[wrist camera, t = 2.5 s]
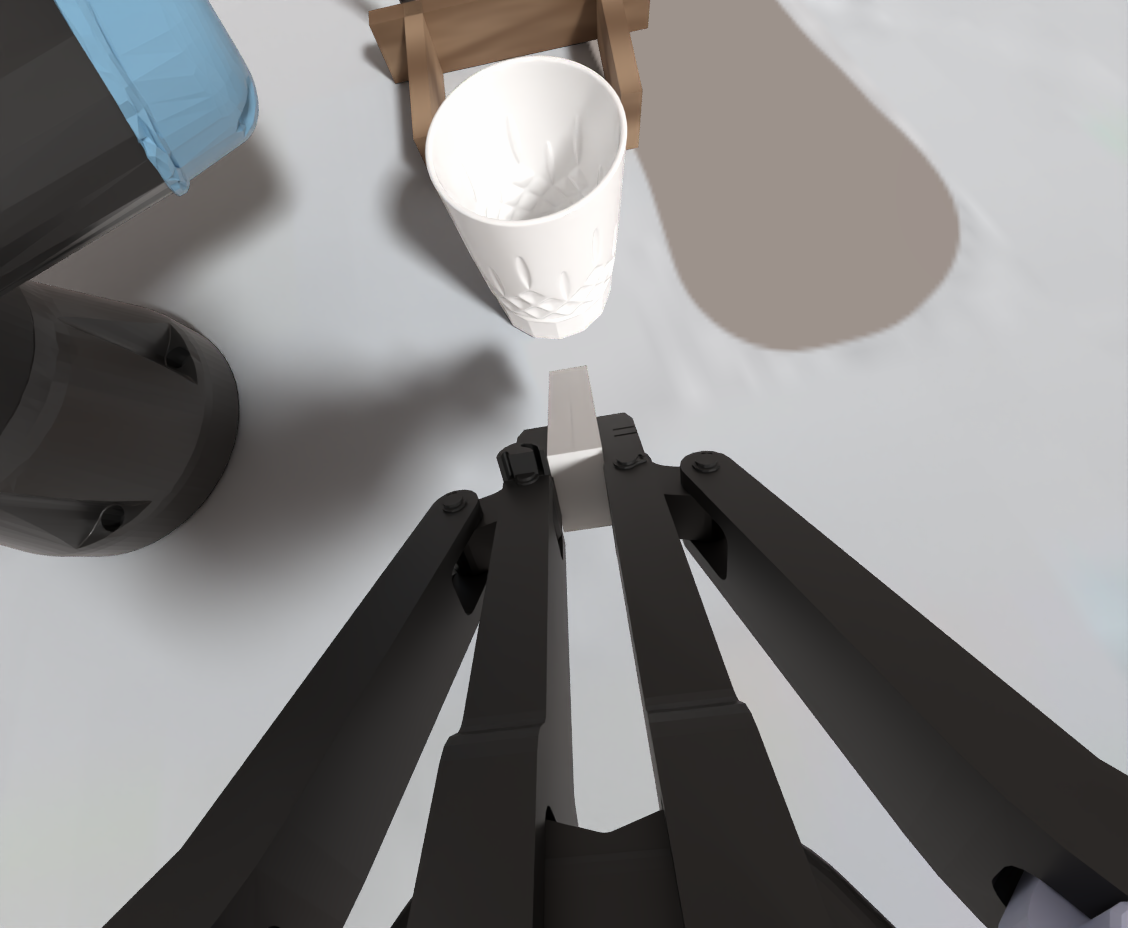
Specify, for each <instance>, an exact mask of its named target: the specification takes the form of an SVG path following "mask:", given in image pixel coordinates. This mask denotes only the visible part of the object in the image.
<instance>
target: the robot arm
mask: <svg viewBox="0 0 1128 928" xmlns="http://www.w3.org/2000/svg"><path fill="white" fill-rule="evenodd" d="M258 112H259V106H258V96H257V91H256V87H255V84H254V81H253V78H252V75H251V73H250V71H249V69H248V67H247V65H246V63H245V62H244V60H243V58H242V56H241V55H240V53H239V51H238V49H237V48H236V46H235V44H234V43H233V41H232V39H231V38H230V36H229V34H228V33H227V31H226V29H225V28H224V26H223V24H222V22H221V21H220V19H219V17H218V16H217V14H216V12H215V11H214V9H213V7H212V6H211V4H210V2H209V1H208V0H0V545H3V546H7V547H10V548H14V549H17V550H21V551H25V552H29V553H33V554H39V555H47V556H60V557H101V556H113V555H119V554H124V553H128V552H131V551H135V550H137V549H140V548H143V547H145V546H147V545H149V544H152V543H154V542H155V541H157V540H159V539H161V538H163V537H164V536H166V535H167V534H169V533H170V532H172V531H173V530H174V529H176V528H177V527H178V526H180V525H181V524H182V523H183V522H184V521H186V520H187V519H188V518H189V517H190V516H191V515H192V514H193V513H194V512H195V511H196V510H197V509H198V508H199V507H200V505H201V504H202V503H203V502H204V501H205V499H206V498H207V497H208V495H209V494H210V493H211V491H212V490H213V488H214V487H215V485H216V484H217V482H218V480H219V478H220V477H221V475H222V473H223V471H224V469H225V467H226V465H227V462H228V460H229V457H230V455H231V452H232V449H233V445H234V442H235V438H236V432H237V426H238V415H239V405H238V394H237V389H236V384H235V381H234V377H233V375H232V372H231V370H230V368H229V365H228V363H227V362H226V360H225V358H224V357H223V355H222V354H221V353H220V351H219V350H218V349H217V348H216V347H215V346H214V345H213V344H212V343H211V342H210V341H209V340H207V339H206V338H205V337H204V336H202V335H200V334H199V333H197V332H195V331H194V330H192V329H190V328H188V327H186V326H184V325H182V324H181V323H179V322H177V321H175V320H173V319H171V318H169V317H167V316H165V315H163V314H161V313H158V312H156V311H153V310H150V309H147V308H144V307H140V306H136V305H132V304H128V303H123V302H119V301H115V300H110V299H106V298H102V297H97V296H93V295H89V294H85V293H80V292H76V291H72V290H67V289H63V288H59V287H54V286H50V285H46V284H42V283H37V282H33V281H29V280H30V279H31V278H33V277H35V276H36V275H38V274H40V273H41V272H43V271H45V270H46V269H48V268H50V267H51V266H53V265H55V264H56V263H58V262H60V261H61V260H63V259H65V258H66V257H68V256H69V255H71V254H73V253H74V252H76V251H78V250H79V249H81V248H83V247H84V246H86V245H88V244H89V243H91V242H93V241H94V240H96V239H98V238H99V237H101V236H103V235H104V234H106V233H108V232H109V231H111V230H113V229H114V228H116V227H118V226H119V225H121V224H122V223H124V222H126V221H127V220H129V219H131V218H132V217H134V216H136V215H137V214H139V213H141V212H142V211H144V210H146V209H147V208H149V207H151V206H152V205H154V204H156V203H157V202H159V201H161V200H162V199H164V198H166V197H167V196H169V195H171V194H172V193H174V194H176V195H178V196H181V195H183V194H185V193H187V192H188V189H189V187H190V180H192V179H193V178H194V177H196V176H197V175H199V174H200V173H201V172H203V171H204V170H206V169H207V168H208V167H210V166H211V165H213V164H214V163H215V162H217V161H218V160H220V159H221V158H222V157H224V156H225V155H227V154H228V153H230V152H231V151H232V150H234V149H235V148H237V147H238V146H239V145H241V144H242V143H244V142H245V141H246V140H247V139H248V138H249V137H250V136H251V134H252V133H253V131H254V129H255V127H256V124H257V120H258ZM496 458H497V461H498V464H499V468H500V471H501V474H502V478H503V481H504V483H503V489H502V490H500V491H498V492H497V493H494V494H492V495H490V496H487V497H484V498H481V499H478V497H477V494H476V493H474V492H473V491H470V490H458V491H453V492H450V493H447V494H446V495H444V496H442V497H441V498H439V499H438V500H437V501H436V502H435V503H434V504H433V505H432V506H431V508H430V509H429V510H428V512H427V513H426V515H425V516H424V517H423V519H422V520H421V521H420V523H419V524H418V525H417V527H416V528H415V530H414V531H413V532H412V534H411V535H410V536H409V538H408V539H407V540H406V542H405V543H404V545H403V546H402V547H401V549H400V550H399V551H398V553H397V554H396V556H395V557H394V558H393V560H392V561H391V562H390V564H389V565H388V566H387V568H386V569H385V571H384V572H383V573H382V575H381V576H380V577H379V579H378V580H377V581H376V583H375V584H374V586H373V587H372V588H371V590H370V591H369V592H368V594H367V595H366V597H365V598H364V599H363V601H362V602H361V603H360V605H359V606H358V607H357V609H356V610H355V612H354V613H353V614H352V616H351V617H350V618H349V620H348V621H347V622H346V624H345V625H344V627H343V628H342V629H341V631H340V632H339V633H338V635H337V636H336V638H335V639H334V640H333V642H332V643H331V644H330V646H329V647H328V648H327V650H326V651H325V653H324V654H323V655H322V657H321V658H320V659H319V661H318V662H317V663H316V665H315V666H314V668H313V669H312V670H311V672H310V673H309V674H308V676H307V677H306V678H305V680H304V681H303V683H302V684H301V685H300V687H299V688H298V689H297V691H296V692H295V694H294V695H293V696H292V698H291V699H290V700H289V702H288V703H287V704H286V706H285V707H284V709H283V710H282V711H281V713H280V714H279V715H278V717H277V718H276V719H275V721H274V722H273V724H272V725H271V726H270V728H269V729H268V730H267V732H266V733H265V735H264V736H263V737H262V739H261V740H260V741H259V743H258V744H257V745H256V747H255V748H254V750H253V751H252V752H251V754H250V755H249V756H248V758H247V759H246V760H245V762H244V763H243V765H242V766H241V767H240V769H239V770H238V771H237V773H236V774H235V776H234V777H233V778H232V780H231V781H230V782H229V784H228V785H227V786H226V788H225V789H224V791H223V792H222V793H221V795H220V796H219V797H218V799H217V800H216V801H215V803H214V804H213V806H212V807H211V808H210V810H209V811H208V812H207V814H206V815H205V817H204V818H203V819H202V821H201V822H200V823H199V825H198V826H197V827H196V829H195V830H194V832H193V833H192V834H191V836H190V837H189V838H188V840H187V841H186V842H185V844H184V845H183V847H182V848H181V849H180V850H179V851H178V852H177V853H176V854H175V855H174V856H173V857H172V858H171V859H170V860H169V861H168V862H167V863H166V864H165V865H164V866H163V867H162V868H161V869H160V870H159V871H158V872H157V873H156V874H155V875H154V876H153V877H152V878H151V879H150V880H149V881H148V882H147V883H146V884H145V885H144V886H143V887H142V888H141V889H140V890H139V891H138V892H137V893H136V894H135V895H134V896H133V897H132V898H131V899H130V900H129V901H128V902H127V903H126V904H125V905H124V906H123V907H122V908H121V909H120V910H119V911H118V912H117V913H116V914H115V915H114V916H113V917H112V918H111V919H110V920H109V921H108V922H107V923H106V924H105V925H104V926H103V927H102V928H343V926H344V924H345V922H346V920H347V918H348V916H349V914H350V912H351V910H352V908H353V906H354V904H355V901H356V899H357V897H358V895H359V893H360V891H361V889H362V887H363V885H364V883H365V880H366V878H367V876H368V874H369V871H370V869H371V867H372V865H373V862H374V860H375V858H376V855H377V853H378V851H379V849H380V846H381V844H382V842H383V840H384V837H385V835H386V833H387V830H388V828H389V826H390V824H391V821H392V819H393V817H394V815H395V812H396V810H397V808H398V805H399V803H400V801H401V799H402V796H403V794H404V792H405V790H406V787H407V785H408V783H409V780H410V778H411V776H412V774H413V771H414V769H415V767H416V765H417V762H418V760H419V758H420V755H421V753H422V751H423V749H424V746H425V744H426V742H427V740H428V737H429V735H430V733H431V730H432V728H433V726H434V724H435V721H436V719H437V717H438V715H439V712H440V710H441V708H442V705H443V703H444V701H445V699H446V696H447V694H448V692H449V690H450V687H451V685H452V683H453V680H454V678H455V676H456V674H457V671H458V669H459V667H460V665H461V662H462V660H463V658H464V655H465V653H466V651H467V649H468V646H469V644H470V642H471V640H472V637H473V635H474V633H475V630H476V628H477V626H478V624H479V628H478V634H477V640H476V646H475V652H474V658H473V663H472V669H471V675H470V681H469V687H468V693H467V698H466V704H465V710H464V716H463V721H462V725H461V728H460V730H459V732H458V733H456V734H454V735H452V736H450V737H449V738H448V740H447V742H446V744H445V746H444V748H443V752H442V756H441V759H440V763H439V768H438V773H437V778H436V783H435V788H434V793H433V798H432V803H431V808H430V813H429V818H428V823H427V828H426V833H425V838H424V843H423V848H422V853H421V858H420V863H419V868H418V873H417V878H416V883H415V888H414V893H413V897H412V898H411V899H410V901H409V902H408V903H407V905H406V906H405V908H404V909H403V910H402V912H401V913H400V915H399V916H398V918H397V919H396V920H395V922H394V923H393V925H392V926H391V928H896V927H895V926H894V925H893V924H891V923H890V922H889V921H888V920H887V919H886V918H885V917H884V916H883V915H882V914H881V913H880V912H879V911H878V910H877V909H876V908H875V907H874V906H873V905H872V904H871V903H870V902H869V901H868V900H867V899H866V898H865V897H864V896H863V895H862V894H861V893H860V892H858V891H857V890H856V889H855V888H854V887H853V886H852V885H851V884H850V883H849V882H848V881H847V880H846V879H845V878H844V877H843V876H842V875H841V874H840V873H839V872H838V871H836V870H835V869H834V868H833V867H832V866H831V865H830V864H829V863H827V862H826V861H825V860H824V859H822V858H821V857H820V856H819V855H817V854H816V853H815V852H813V851H812V850H811V849H809V848H808V847H806V846H805V845H803V844H802V843H801V842H800V839H799V837H798V834H797V831H796V829H795V826H794V823H793V821H792V818H791V816H790V813H789V810H788V808H787V805H786V802H785V800H784V797H783V794H782V792H781V789H780V786H779V784H778V781H777V778H776V776H775V773H774V770H773V768H772V765H771V762H770V760H769V757H768V755H767V752H766V749H765V747H764V744H763V741H762V739H761V736H760V733H759V731H758V728H757V726H756V723H755V721H754V719H753V716H752V714H751V712H750V710H749V709H748V707H747V706H746V704H745V703H743V702H741V701H739V700H738V698H737V697H736V694H735V692H734V690H733V687H732V684H731V681H730V679H729V676H728V673H727V670H726V667H725V665H724V662H723V659H722V656H721V653H720V651H719V648H718V645H717V642H716V640H715V637H714V634H713V631H712V628H711V626H710V623H709V620H708V617H707V614H706V612H705V609H704V606H703V603H702V600H701V598H700V595H699V592H698V589H697V586H696V584H695V581H694V578H693V575H692V572H691V570H690V567H689V564H688V561H687V558H686V556H685V553H684V550H683V547H682V545H681V542H680V539H683V542H684V545H685V547H686V548H687V549H688V551H689V552H690V553H691V555H692V556H693V557H694V559H695V560H696V561H697V563H698V564H699V565H700V566H701V568H702V569H703V570H704V572H705V573H706V574H707V576H708V577H709V578H710V580H711V581H712V582H713V584H714V585H715V586H716V587H717V589H718V590H719V591H720V593H721V594H722V595H723V597H724V598H725V599H726V601H727V602H728V603H729V605H730V606H731V607H732V609H733V610H734V611H735V612H736V614H737V615H738V616H739V618H740V619H741V620H742V622H743V623H744V624H745V626H746V627H747V628H748V630H749V631H750V632H751V633H752V635H753V636H754V637H755V639H756V640H757V641H758V643H759V644H760V645H761V647H762V648H763V649H764V651H765V652H766V653H767V654H768V656H769V657H770V658H771V660H772V661H773V662H774V664H775V665H776V666H777V668H778V669H779V670H780V672H781V673H782V674H783V676H784V677H785V678H786V679H787V681H788V682H789V683H790V685H791V686H792V687H793V689H794V690H795V691H796V693H797V694H798V695H799V697H800V698H801V699H802V700H803V702H804V703H805V704H806V706H807V707H808V708H809V710H810V711H811V712H812V714H813V715H814V716H815V718H816V719H817V720H818V721H819V723H820V724H821V725H822V727H823V728H824V729H825V731H826V732H827V733H828V735H829V736H830V737H831V739H832V740H833V741H834V743H835V744H836V745H837V746H838V748H839V749H840V750H841V752H842V753H843V754H844V756H845V757H846V758H847V760H848V761H849V762H850V764H851V765H852V766H853V767H854V769H855V770H856V771H857V773H858V774H859V775H860V777H861V778H862V779H863V781H864V782H865V783H866V785H867V786H868V787H869V788H870V790H871V791H872V792H873V794H874V795H875V796H876V798H877V799H878V800H879V802H880V803H881V804H882V806H883V807H884V808H885V810H886V811H887V812H888V813H889V815H890V816H891V817H892V819H893V820H894V821H895V823H896V824H897V825H898V827H899V828H900V829H901V831H902V832H903V833H904V834H905V836H906V837H907V838H908V839H909V841H910V842H911V843H912V844H913V845H914V847H915V848H916V849H917V850H918V852H919V853H920V854H921V855H922V856H923V858H924V859H925V860H926V861H927V863H928V864H929V865H930V866H931V868H932V869H933V870H934V871H935V872H936V874H937V875H938V876H939V877H940V878H941V879H942V880H943V881H944V883H945V884H946V885H947V886H948V887H949V888H950V889H951V890H952V891H953V892H954V893H955V894H956V895H957V896H958V898H959V899H960V900H961V901H962V902H963V903H964V904H965V905H966V906H967V907H968V908H969V909H970V910H971V911H972V913H973V914H974V915H975V916H976V917H977V918H978V919H979V920H980V921H981V922H982V923H983V924H984V925H985V926H986V927H987V928H1128V775H1126V774H1124V773H1122V772H1121V771H1119V770H1117V769H1116V768H1114V767H1112V766H1110V765H1109V764H1107V763H1105V762H1103V761H1102V760H1100V759H1099V758H1097V757H1096V756H1095V755H1094V754H1092V753H1091V752H1090V751H1089V750H1087V749H1086V748H1085V747H1084V746H1083V745H1081V744H1080V743H1079V742H1078V741H1076V740H1075V739H1074V738H1073V737H1072V736H1070V735H1069V734H1068V733H1067V732H1065V731H1064V730H1063V729H1062V728H1060V727H1059V726H1058V725H1057V724H1056V723H1054V722H1053V721H1052V720H1051V719H1049V718H1048V717H1047V716H1046V715H1045V714H1043V713H1042V712H1041V711H1040V710H1038V709H1037V708H1036V707H1035V706H1033V705H1032V704H1031V703H1030V702H1029V701H1027V700H1026V699H1025V698H1024V697H1022V696H1021V695H1020V694H1019V693H1018V692H1016V691H1015V690H1014V689H1013V688H1011V687H1010V686H1009V685H1008V684H1006V683H1005V682H1004V681H1003V680H1002V679H1000V678H999V677H998V676H997V675H995V674H994V673H993V672H992V671H991V670H989V669H988V668H987V667H986V666H984V665H983V664H982V663H981V662H979V661H978V660H977V659H976V658H975V657H973V656H972V655H971V654H970V653H968V652H967V651H966V650H965V649H964V648H962V647H961V646H960V645H959V644H957V643H956V642H955V641H954V640H952V639H951V638H950V637H949V636H948V635H946V634H945V633H944V632H943V631H941V630H940V629H939V628H938V627H937V626H935V625H934V624H933V623H932V622H930V621H929V620H928V619H927V618H925V617H924V616H923V615H922V614H921V613H919V612H918V611H917V610H916V609H914V608H913V607H912V606H911V605H910V604H908V603H907V602H906V601H905V600H903V599H902V598H901V597H900V596H898V595H897V594H896V593H895V592H894V591H892V590H891V589H890V588H889V587H887V586H886V585H885V584H884V583H883V582H881V581H880V580H879V579H878V578H876V577H875V576H874V575H873V574H871V573H870V572H869V571H868V570H867V569H865V568H864V567H863V566H862V565H860V564H859V563H858V562H857V561H856V560H854V559H853V558H852V557H851V556H849V555H848V554H847V553H846V552H844V551H843V550H842V549H841V548H840V547H838V546H837V545H836V544H835V543H833V542H832V541H831V540H830V539H829V538H827V537H826V536H825V535H824V534H822V533H821V532H820V531H819V530H817V529H816V528H815V527H814V526H813V525H811V524H810V523H809V522H808V521H806V520H805V519H804V518H803V517H802V516H800V515H799V514H798V513H797V512H795V511H794V510H793V509H792V508H790V507H789V506H788V505H787V504H786V503H784V502H783V501H782V500H781V499H779V498H778V497H777V496H776V495H775V494H773V493H772V492H771V491H770V490H768V489H767V488H766V487H765V486H763V485H762V484H761V483H760V482H759V481H757V480H756V479H755V478H754V477H752V476H751V475H750V474H749V473H748V472H746V471H745V470H744V469H743V468H741V467H740V466H739V465H738V464H736V463H735V462H734V461H733V460H732V459H730V458H729V457H727V456H725V455H724V454H722V453H717V452H713V451H701V452H695V453H692V454H690V455H687V456H686V457H684V458H683V459H682V460H681V464H680V467H672V466H662V465H659V464H655V463H653V462H652V461H651V458H650V457H649V456H648V454H646V453H644V450H643V447H642V444H641V441H640V438H639V436H638V433H637V430H636V427H635V424H634V421H633V418H631V417H630V416H629V415H627V414H626V413H618V414H612V415H606V416H600V417H596V413H595V408H594V403H593V397H592V392H591V387H590V381H589V376H588V370H587V365H585V366H580V367H574V368H568V369H562V370H556V371H551V372H549V402H548V426H545V427H539V428H533V429H527V430H524V431H523V432H522V433H521V434H520V436H519V437H518V438H517V443H514V444H511V445H509V446H507V447H505V448H504V449H502V450H501V451H500V452H499V453H498V455H497V457H496ZM562 525H563V529H564V532H569V531H576V530H583V529H590V528H597V527H604V526H610V525H612V528H613V534H614V541H615V548H616V555H617V558H618V564H619V570H620V576H621V582H622V588H623V594H624V600H625V606H626V612H627V618H628V623H629V629H630V635H631V641H632V647H633V653H634V659H635V665H636V671H637V677H638V683H639V689H640V694H641V700H642V706H643V712H644V718H645V724H646V730H647V736H648V742H649V748H650V754H651V760H652V766H653V771H654V777H655V783H656V789H657V796H658V802H659V808H660V811H657V812H655V813H653V814H651V815H648V816H646V817H644V818H642V819H639V820H637V821H635V822H632V823H630V824H628V825H626V826H623V827H621V828H619V829H617V830H614V831H612V832H608V833H601V832H596V831H592V830H588V829H584V828H580V827H578V821H577V814H576V808H575V799H574V783H573V754H572V726H571V697H570V668H569V639H568V610H567V582H566V553H565V541H564V536H563V532H562ZM479 621H480V623H479Z"/></svg>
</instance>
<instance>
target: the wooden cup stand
mask: <svg viewBox="0 0 1128 928" xmlns="http://www.w3.org/2000/svg"><path fill="white" fill-rule="evenodd" d="M399 1H400V3H401V4H397V5H393V6H389V7H385V8H380V9H376V10H372V11H369V26H370V28H371V30H372V33H373V35H374V37H375V39H376V41H377V44H378V46H379V48H380V50H381V53H382V55H383V57H384V59H385V61H386V64H387V66H388V68H389V70H390V73H391V75H392V77H393V79H394V81H395V84H396V83H400V82H405V81H409V88H410V102H411V115H412V128H413V139H414V141H415V144H416V146H417V148H418V150H419V152H420V154H421V156H422V159H423V161H424V163H425V165H426V158H425V145H426V138H427V134H428V130H429V127H430V124H431V122H432V119H433V117H434V115H435V114H436V112H437V110H438V108H439V107H440V105H441V104H442V103H443V101H444V100H445V89H444V78H443V73H446V72H450V71H455V70H459V69H464V68H468V67H473V66H478V65H482V64H487V63H491V62H496V61H500V60H505V59H509V58H514V57H518V56H523V55H528V54H532V53H537V52H541V51H546V50H550V49H555V48H559V47H564V46H569V45H573V44H578V43H582V42H587V41H591V40H596V39H597V40H598V45H599V51H600V56H601V61H602V66H603V71H604V76H605V80H606V81H607V82H608V83H609V84H610V85H611V87H612V88H613V89H614V91H615V92H616V94H617V95H618V97H619V99H620V101H621V103H622V105H623V108H624V111H625V115H626V121H627V142H626V150H627V149H632V148H637V147H638V143H639V130H640V116H641V102H642V86H641V82H640V77H639V73H638V68H637V65H636V60H635V56H634V51H633V46H632V41H631V37H630V32H632V31H637V30H641V29H646V28H648V19H649V5H650V0H399ZM426 167H427V165H426Z"/></svg>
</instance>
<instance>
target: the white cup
mask: <svg viewBox="0 0 1128 928" xmlns="http://www.w3.org/2000/svg"><path fill="white" fill-rule="evenodd" d="M626 142H627V121H626V115H625V111H624V108H623V105H622V103H621V101H620V99H619V97H618V95H617V94H616V92H615V91H614V89H613V88H612V87H611V85H610V84H609V83H608V82H607V81H606V80H605V79H604V78H603V77H601V76H600V75H599V74H598V73H596V72H595V71H593V70H592V69H590V68H588V67H586V66H584V65H582V64H580V63H577V62H575V61H572V60H568V59H564V58H560V57H553V56H524V57H518V58H513V59H508V60H505V61H501V62H498V63H496V64H493V65H491V66H488V67H486V68H484V69H482V70H480V71H478V72H477V73H475V74H473V75H472V76H470V77H469V78H467V79H466V80H465V81H463V82H462V83H461V84H460V85H458V86H457V87H456V88H455V89H454V90H453V91H452V92H451V93H450V94H449V95H448V96H447V98H446V99H445V100H444V101H443V103H442V104H441V105H440V107H439V108H438V110H437V112H436V114H435V115H434V117H433V119H432V122H431V124H430V127H429V130H428V134H427V138H426V145H425V158H426V165H427V170H428V173H429V176H430V179H431V181H432V183H433V185H434V187H435V189H436V190H437V192H438V194H439V196H440V198H441V200H442V202H443V204H444V205H445V207H446V209H447V211H448V213H449V215H450V217H451V219H452V221H453V223H454V224H455V226H456V228H457V230H458V232H459V234H460V236H461V238H462V240H463V242H464V244H465V245H466V247H467V249H468V251H469V253H470V255H471V257H472V259H473V260H474V262H475V263H476V265H477V267H478V269H479V271H480V273H481V274H482V276H483V278H484V279H485V281H486V283H487V285H488V287H489V288H490V290H491V292H492V293H493V294H494V295H495V296H496V298H497V300H498V302H499V304H500V306H501V307H502V309H503V310H504V312H505V313H506V315H507V316H508V318H509V320H510V321H511V323H512V324H513V326H515V327H516V328H518V329H520V330H522V331H524V332H525V333H527V334H529V335H531V336H532V337H534V338H546V339H562V338H565V337H568V336H571V335H574V334H576V333H579V332H582V331H584V330H585V329H586V328H587V327H588V326H589V325H590V324H592V323H593V322H594V321H595V320H596V319H597V318H598V317H599V316H600V315H601V314H602V312H603V309H604V307H605V304H606V302H607V299H608V296H609V294H610V290H611V277H612V270H613V265H614V260H615V253H616V242H617V236H618V227H619V217H620V205H621V194H622V183H623V172H624V162H625V152H626Z"/></svg>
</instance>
